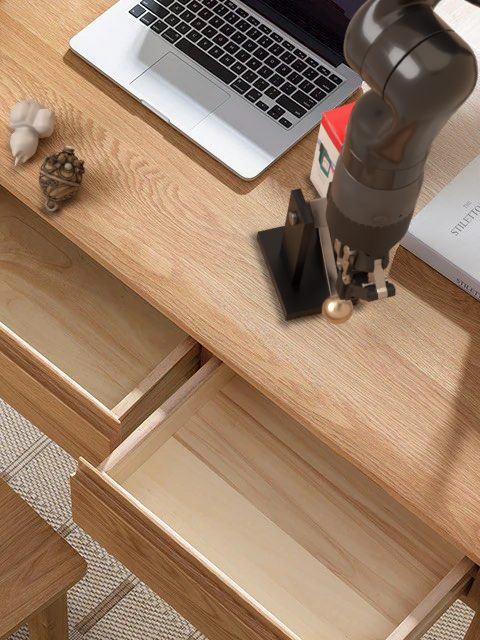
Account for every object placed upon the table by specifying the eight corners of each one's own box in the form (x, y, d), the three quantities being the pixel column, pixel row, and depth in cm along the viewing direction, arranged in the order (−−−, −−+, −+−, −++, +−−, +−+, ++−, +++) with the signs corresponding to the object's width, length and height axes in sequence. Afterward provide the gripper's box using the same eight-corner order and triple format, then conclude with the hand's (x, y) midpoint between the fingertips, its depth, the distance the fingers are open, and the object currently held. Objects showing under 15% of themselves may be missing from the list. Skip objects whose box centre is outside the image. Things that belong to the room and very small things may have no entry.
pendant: (56, 138, 141) (96, 153, 140) (35, 202, 143) (75, 217, 143) (44, 138, 137) (85, 154, 136) (22, 204, 139) (63, 220, 138)
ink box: (374, 154, 142) (399, 67, 129) (395, 187, 140) (422, 101, 127) (307, 178, 141) (325, 92, 128) (326, 211, 139) (346, 127, 126)
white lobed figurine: (4, 95, 144) (-16, 158, 143) (40, 88, 139) (20, 154, 138) (37, 116, 148) (18, 177, 146) (74, 110, 143) (54, 174, 142)
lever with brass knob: (350, 320, 129) (359, 321, 126) (320, 326, 129) (329, 328, 126) (327, 196, 127) (336, 194, 124) (297, 202, 127) (305, 201, 124)
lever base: (357, 305, 134) (378, 238, 122) (285, 320, 133) (299, 255, 122) (325, 223, 138) (342, 151, 127) (256, 238, 138) (267, 167, 126)
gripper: (443, 240, 105) (406, 339, 121) (390, 121, 111) (361, 230, 126) (358, 260, 105) (332, 357, 120) (309, 139, 111) (290, 246, 126)
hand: (347, 292), depth 123 cm, fingers closed
